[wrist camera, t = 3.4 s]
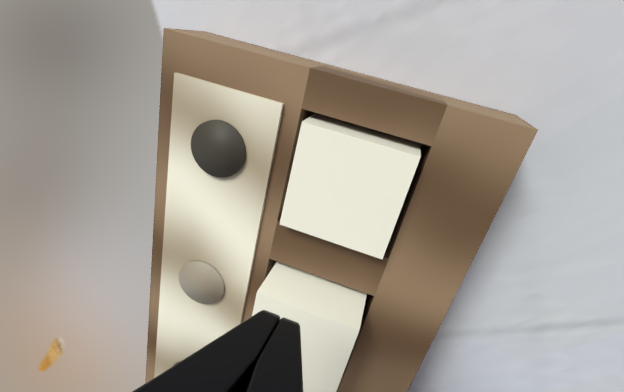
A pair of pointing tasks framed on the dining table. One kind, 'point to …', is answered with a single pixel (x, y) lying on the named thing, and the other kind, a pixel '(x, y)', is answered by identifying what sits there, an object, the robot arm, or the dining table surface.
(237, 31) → the dining table surface
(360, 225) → the button
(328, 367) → the middle button
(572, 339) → the dining table surface
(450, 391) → the dining table surface
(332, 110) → the button board
